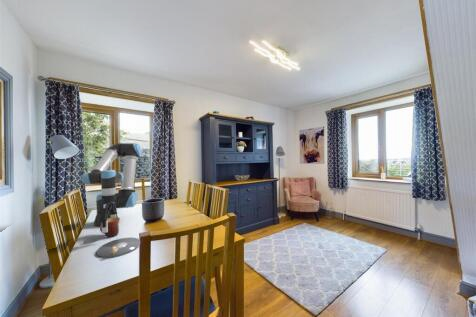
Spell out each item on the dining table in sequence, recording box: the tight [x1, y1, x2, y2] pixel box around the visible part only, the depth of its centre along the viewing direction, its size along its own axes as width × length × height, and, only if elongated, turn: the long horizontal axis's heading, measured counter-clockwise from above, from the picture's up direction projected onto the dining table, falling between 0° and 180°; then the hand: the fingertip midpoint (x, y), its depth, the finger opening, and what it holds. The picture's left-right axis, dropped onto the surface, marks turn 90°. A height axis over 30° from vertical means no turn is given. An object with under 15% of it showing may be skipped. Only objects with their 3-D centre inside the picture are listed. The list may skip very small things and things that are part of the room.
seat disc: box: [96, 237, 140, 259], centre depth 102 cm, size 20×20×5 cm
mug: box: [99, 216, 121, 238], centre depth 116 cm, size 12×9×10 cm
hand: (109, 228), depth 116 cm, fingers open, 13 cm apart
